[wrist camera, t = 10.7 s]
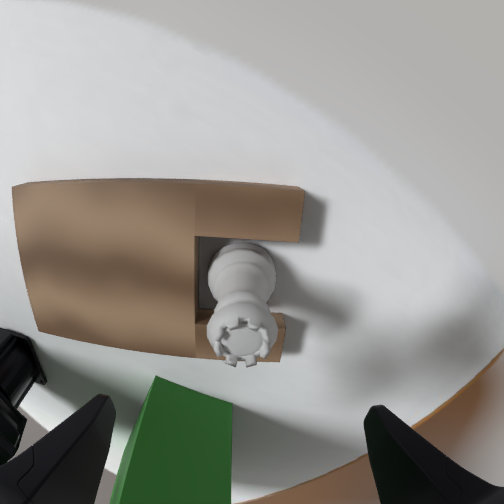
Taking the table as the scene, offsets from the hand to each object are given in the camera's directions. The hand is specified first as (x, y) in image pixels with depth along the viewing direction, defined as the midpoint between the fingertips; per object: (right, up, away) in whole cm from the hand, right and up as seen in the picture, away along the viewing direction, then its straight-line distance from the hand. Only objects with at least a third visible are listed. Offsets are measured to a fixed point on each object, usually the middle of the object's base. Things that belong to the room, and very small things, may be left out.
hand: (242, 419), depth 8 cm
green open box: (-9, -14, +18) cm, 24 cm away
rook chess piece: (0, +4, +11) cm, 12 cm away
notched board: (-7, +4, +11) cm, 14 cm away
